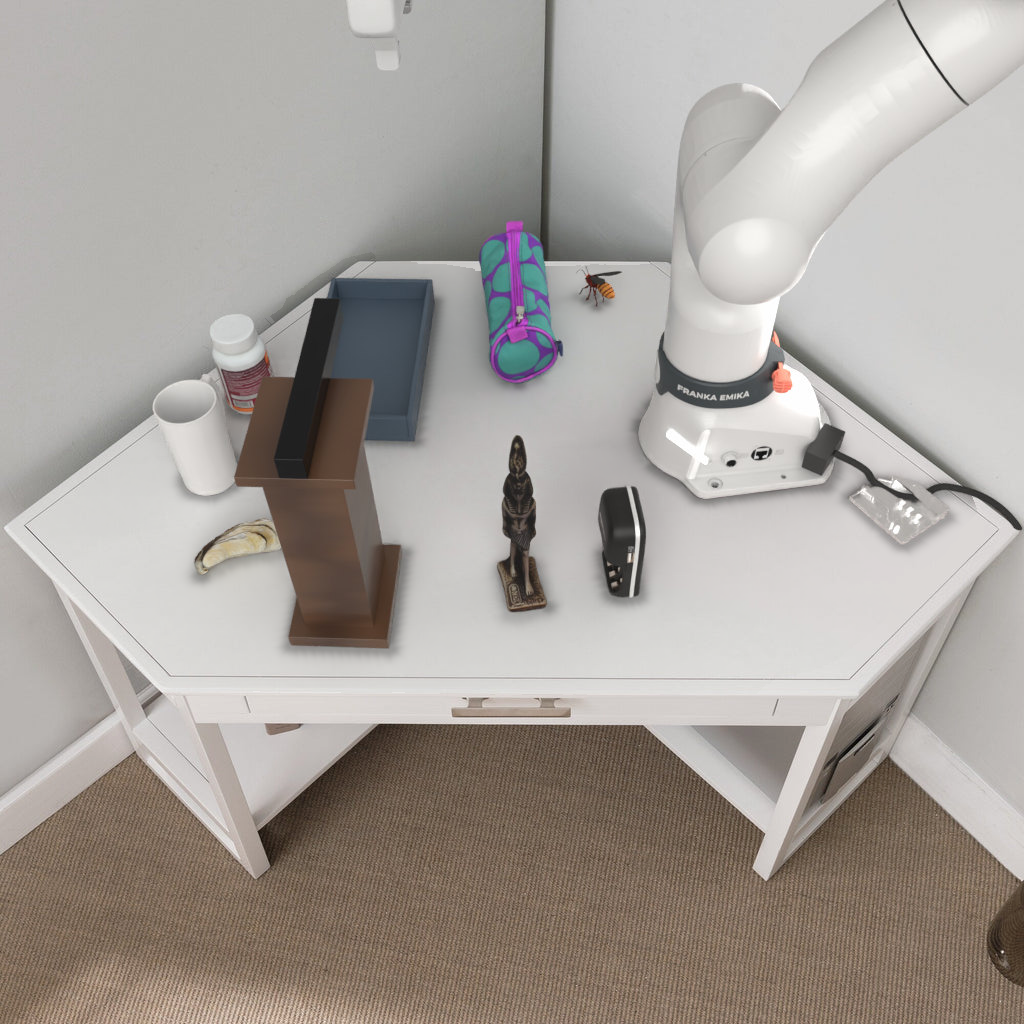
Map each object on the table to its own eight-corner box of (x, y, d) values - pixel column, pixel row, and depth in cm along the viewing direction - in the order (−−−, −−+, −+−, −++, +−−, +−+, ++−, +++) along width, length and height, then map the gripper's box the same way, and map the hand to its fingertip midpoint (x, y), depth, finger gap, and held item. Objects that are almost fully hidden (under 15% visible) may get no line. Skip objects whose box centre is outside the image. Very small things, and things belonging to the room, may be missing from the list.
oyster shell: (235, 589, 118) (298, 529, 116) (228, 602, 114) (293, 540, 113) (193, 553, 116) (257, 491, 115) (186, 565, 113) (251, 501, 111)
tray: (434, 301, 141) (432, 279, 138) (414, 441, 126) (411, 419, 123) (335, 300, 142) (331, 277, 139) (303, 439, 126) (297, 416, 123)
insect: (595, 291, 143) (590, 257, 140) (626, 305, 139) (623, 271, 136) (573, 303, 142) (568, 270, 138) (605, 318, 138) (601, 284, 134)
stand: (402, 553, 115) (372, 378, 95) (388, 648, 108) (353, 480, 87) (310, 551, 116) (262, 376, 96) (290, 645, 108) (233, 477, 88)
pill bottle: (288, 398, 131) (270, 327, 122) (246, 424, 128) (225, 354, 119) (258, 373, 133) (238, 303, 125) (217, 398, 131) (194, 328, 122)
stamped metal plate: (946, 517, 117) (950, 508, 116) (901, 546, 115) (905, 537, 113) (892, 472, 121) (895, 463, 120) (848, 499, 119) (851, 491, 118)
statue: (508, 618, 110) (503, 493, 94) (494, 564, 114) (486, 436, 99) (548, 610, 110) (549, 484, 95) (532, 557, 115) (530, 428, 99)
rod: (343, 318, 100) (340, 298, 98) (307, 479, 88) (302, 459, 86) (318, 317, 100) (314, 297, 98) (279, 478, 88) (273, 459, 86)
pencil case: (562, 385, 131) (564, 325, 124) (490, 391, 131) (487, 331, 123) (544, 277, 144) (544, 217, 137) (478, 282, 144) (475, 222, 136)
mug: (227, 502, 120) (201, 428, 111) (172, 493, 121) (141, 419, 112) (259, 438, 126) (237, 363, 117) (206, 430, 127) (180, 355, 118)
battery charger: (593, 549, 115) (597, 480, 106) (628, 546, 115) (635, 477, 106) (603, 603, 111) (608, 535, 102) (639, 599, 111) (648, 532, 102)
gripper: (403, -87, 72) (421, 104, 82) (432, -196, 85) (444, -19, 95) (310, -87, 72) (340, 103, 83) (353, -196, 85) (374, -19, 96)
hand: (396, 37), depth 89 cm, fingers open, 8 cm apart
